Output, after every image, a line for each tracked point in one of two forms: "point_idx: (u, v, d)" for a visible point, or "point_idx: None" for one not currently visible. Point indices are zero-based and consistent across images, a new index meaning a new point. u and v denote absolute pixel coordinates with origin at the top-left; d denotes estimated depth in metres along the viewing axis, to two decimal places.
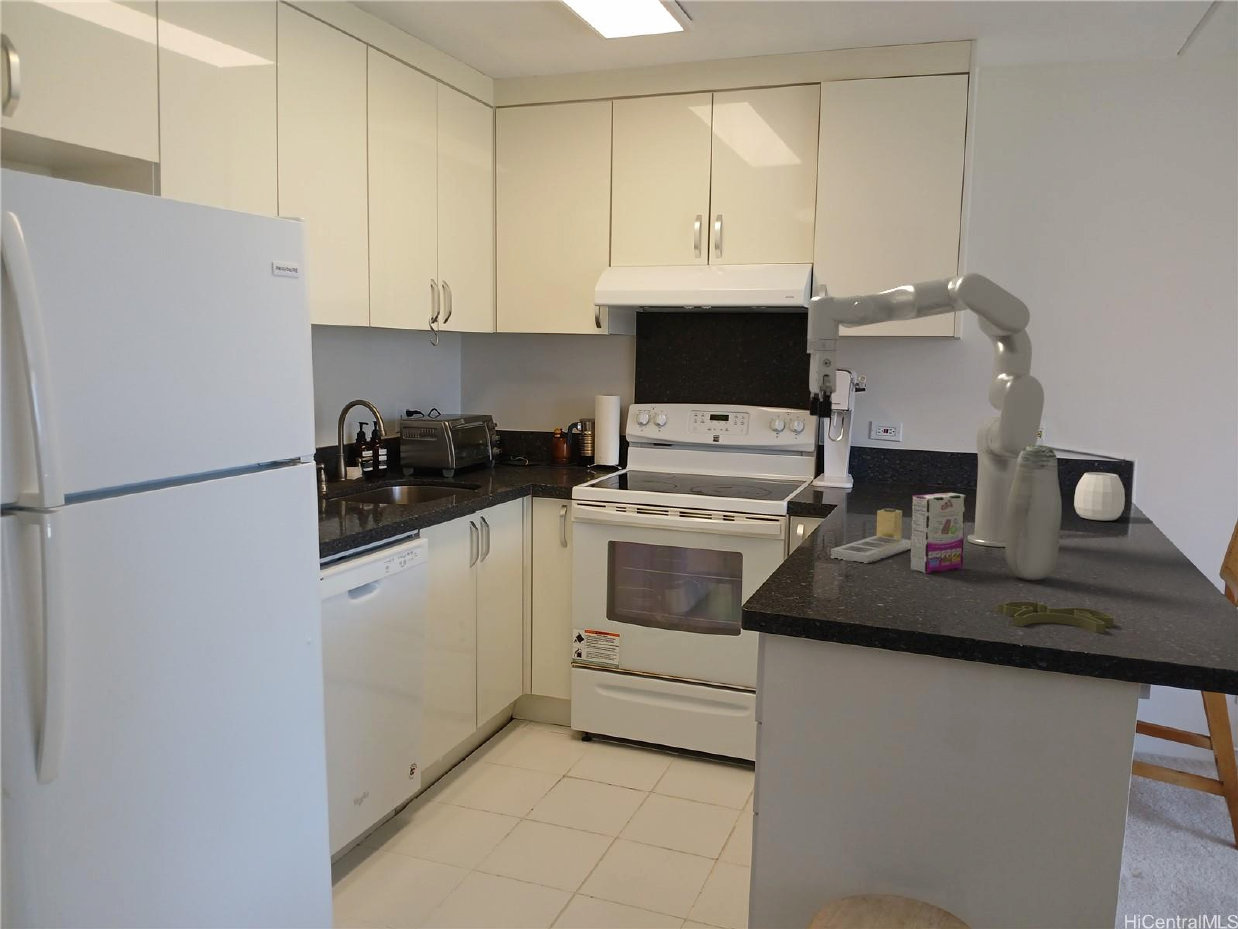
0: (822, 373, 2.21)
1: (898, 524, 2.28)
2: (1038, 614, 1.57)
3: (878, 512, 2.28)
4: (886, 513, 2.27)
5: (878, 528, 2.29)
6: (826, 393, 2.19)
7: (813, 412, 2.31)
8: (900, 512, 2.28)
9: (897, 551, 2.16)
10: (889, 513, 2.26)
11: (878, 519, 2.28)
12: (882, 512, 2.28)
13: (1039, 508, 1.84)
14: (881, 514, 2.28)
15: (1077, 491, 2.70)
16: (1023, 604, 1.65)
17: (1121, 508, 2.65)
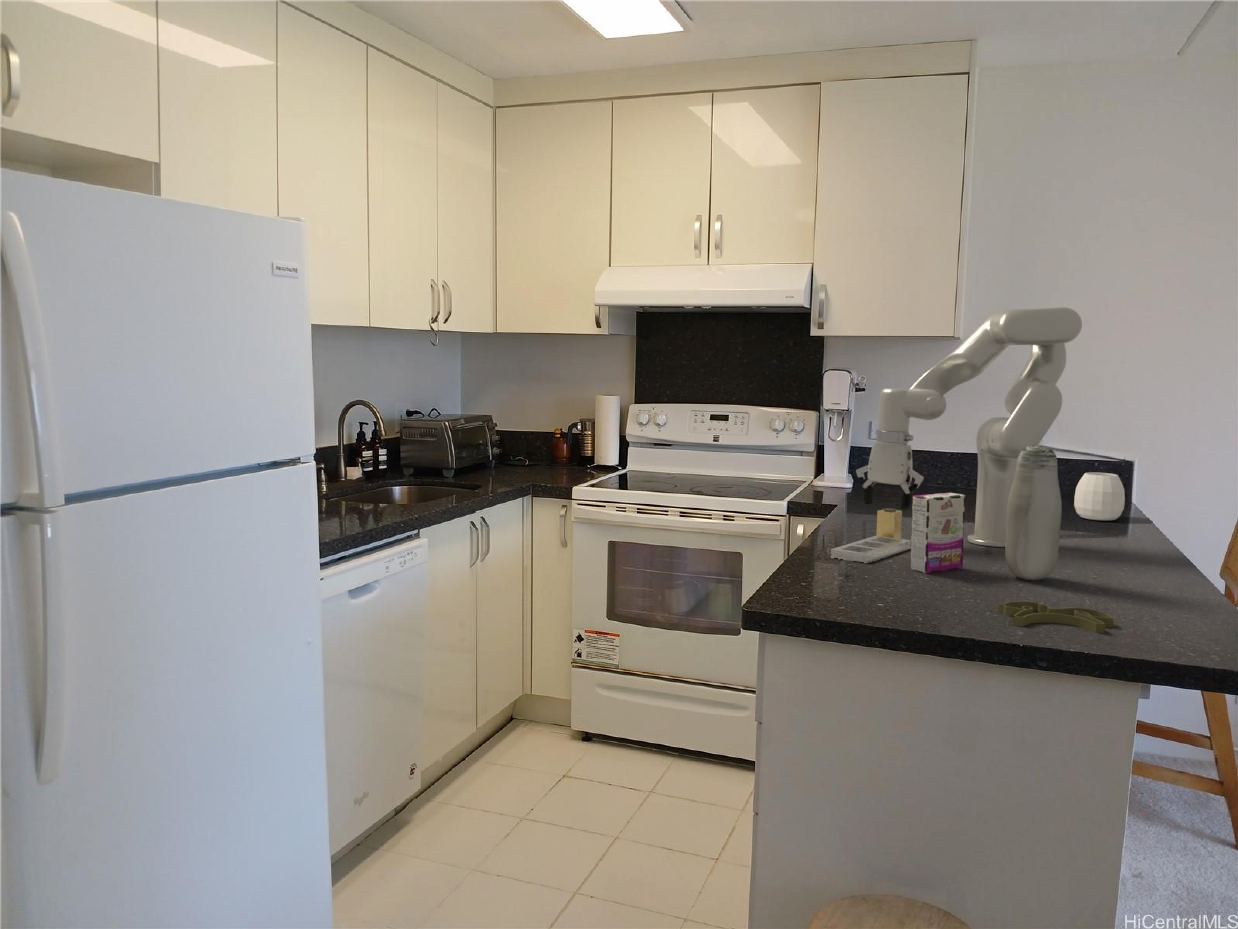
0: (907, 466, 2.24)
1: (898, 524, 2.28)
2: (1038, 614, 1.57)
3: (878, 512, 2.28)
4: (886, 513, 2.27)
5: (878, 528, 2.29)
6: (917, 486, 2.23)
7: (868, 501, 2.31)
8: (900, 512, 2.28)
9: (897, 551, 2.16)
10: (889, 513, 2.26)
11: (878, 519, 2.28)
12: (882, 512, 2.28)
13: (1039, 508, 1.84)
14: (881, 514, 2.28)
15: (1077, 491, 2.70)
16: (1023, 604, 1.65)
17: (1121, 508, 2.65)
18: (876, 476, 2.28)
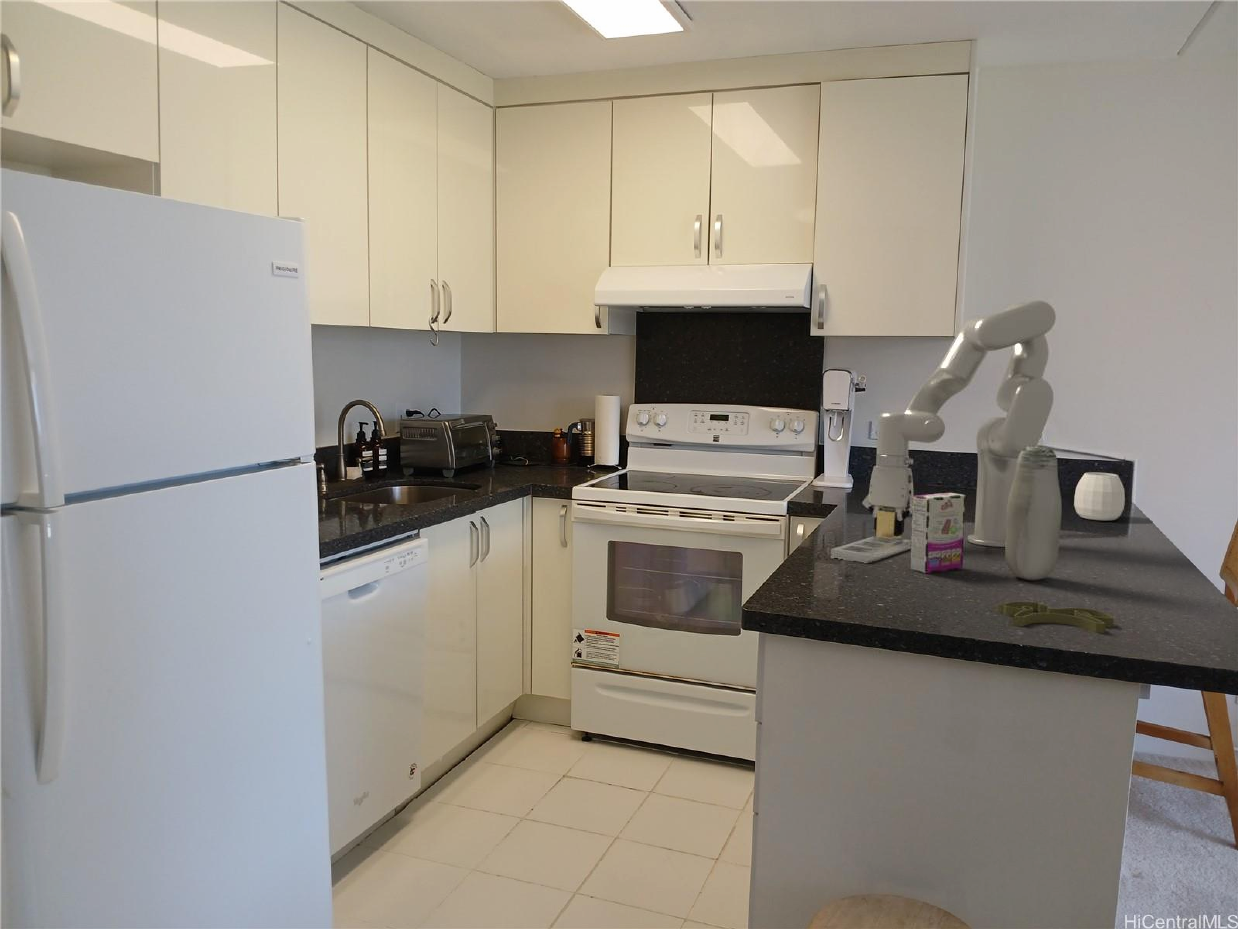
0: (908, 489, 2.24)
1: None
2: (1038, 614, 1.57)
3: (878, 512, 2.28)
4: (886, 513, 2.27)
5: (878, 528, 2.29)
6: (909, 513, 2.25)
7: None
8: None
9: (897, 551, 2.16)
10: (889, 513, 2.26)
11: (878, 519, 2.28)
12: (882, 512, 2.28)
13: (1039, 508, 1.84)
14: (881, 514, 2.28)
15: (1077, 491, 2.70)
16: (1023, 604, 1.65)
17: (1121, 508, 2.65)
18: (877, 500, 2.28)
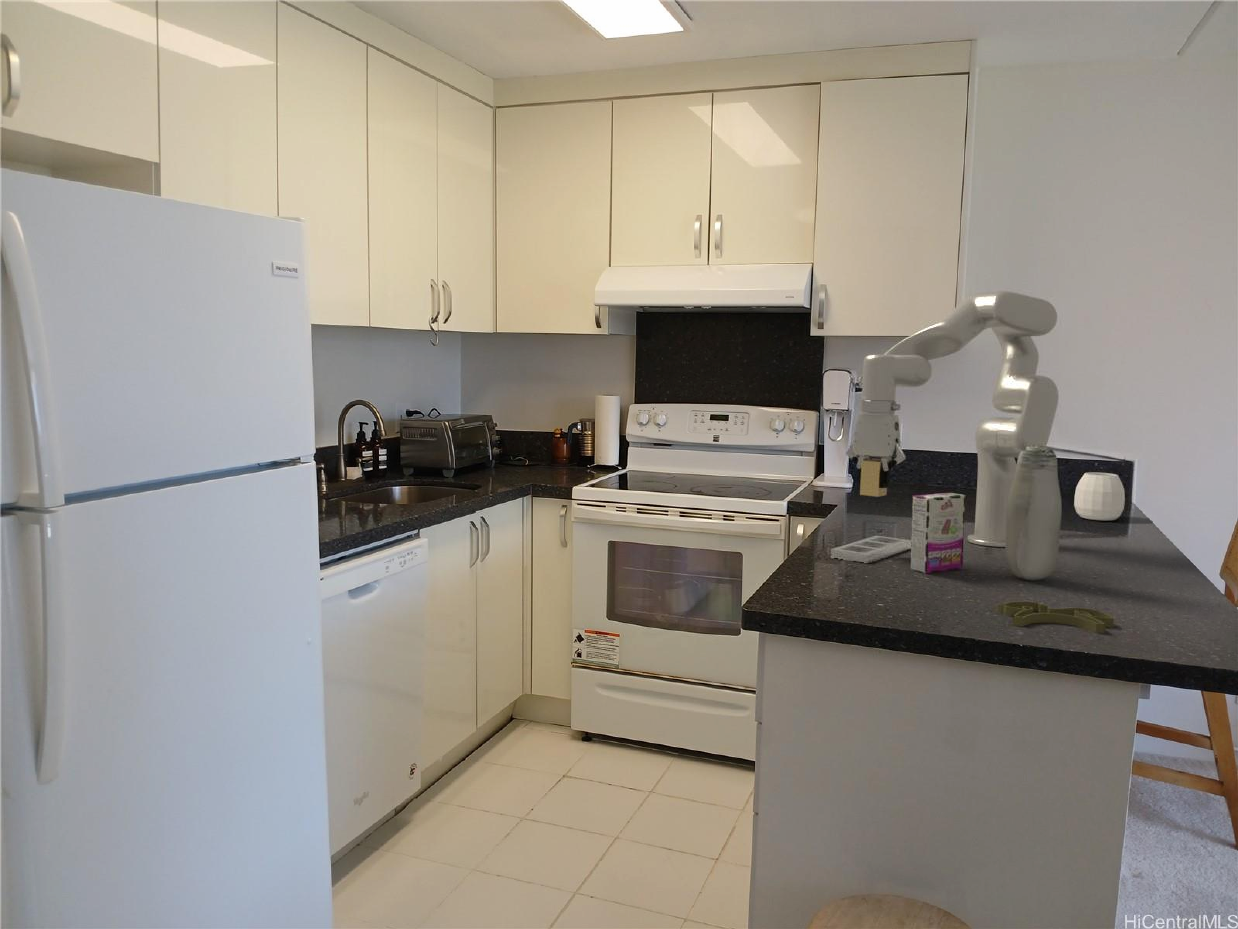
0: (895, 437, 2.09)
1: None
2: (1038, 614, 1.57)
3: (862, 462, 2.13)
4: (871, 463, 2.11)
5: (862, 479, 2.13)
6: (896, 463, 2.09)
7: None
8: None
9: (897, 551, 2.16)
10: (874, 463, 2.11)
11: (862, 469, 2.13)
12: (867, 462, 2.12)
13: (1039, 508, 1.84)
14: (866, 464, 2.12)
15: (1077, 491, 2.70)
16: (1023, 604, 1.65)
17: (1121, 508, 2.65)
18: (862, 449, 2.13)
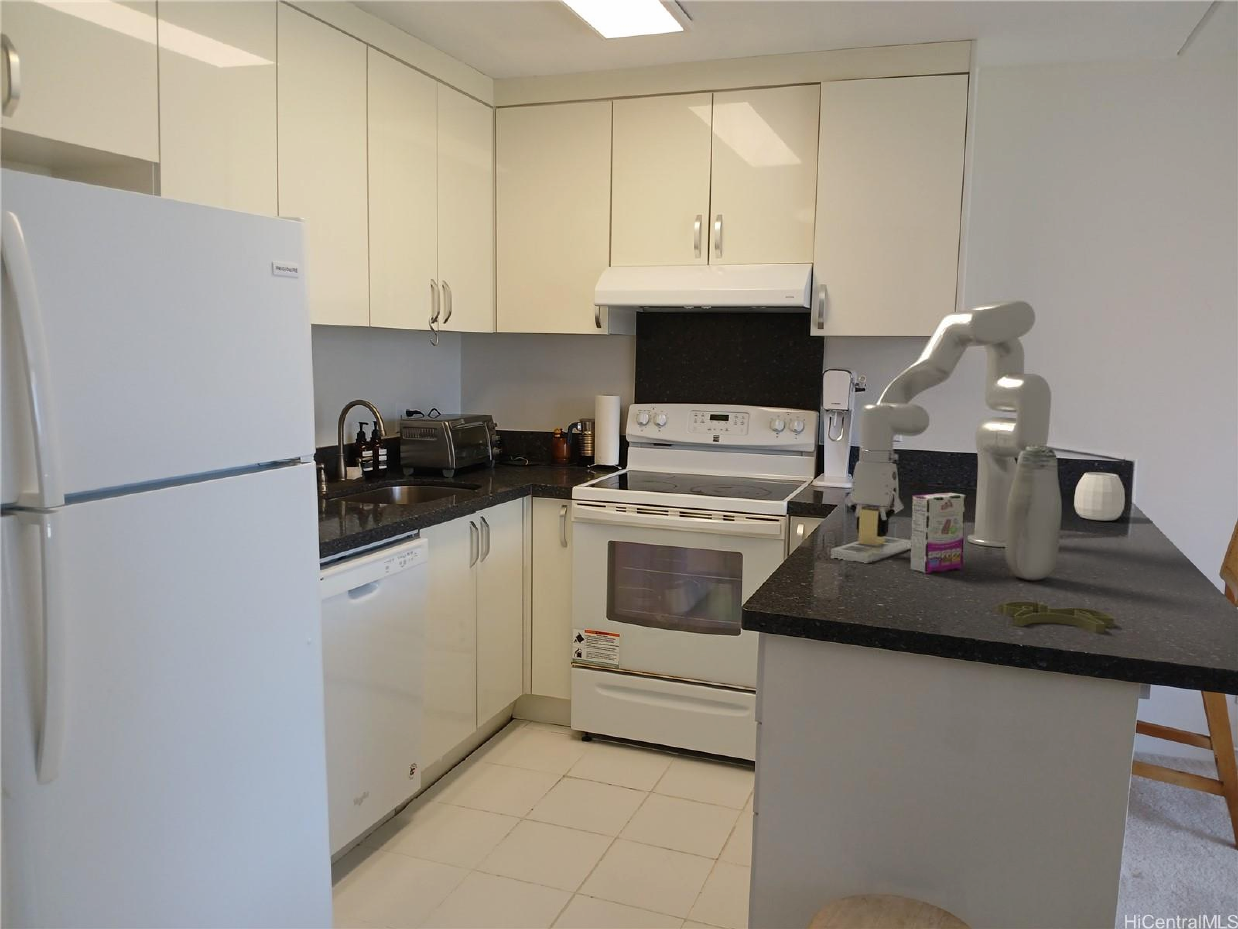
0: (893, 487, 2.10)
1: None
2: (1038, 614, 1.57)
3: (861, 511, 2.14)
4: (869, 512, 2.12)
5: (860, 528, 2.14)
6: (894, 512, 2.11)
7: None
8: None
9: (897, 551, 2.16)
10: (872, 512, 2.12)
11: (861, 518, 2.14)
12: (865, 511, 2.13)
13: (1039, 508, 1.84)
14: (864, 513, 2.13)
15: (1077, 491, 2.70)
16: (1023, 604, 1.65)
17: (1121, 508, 2.65)
18: (860, 498, 2.14)
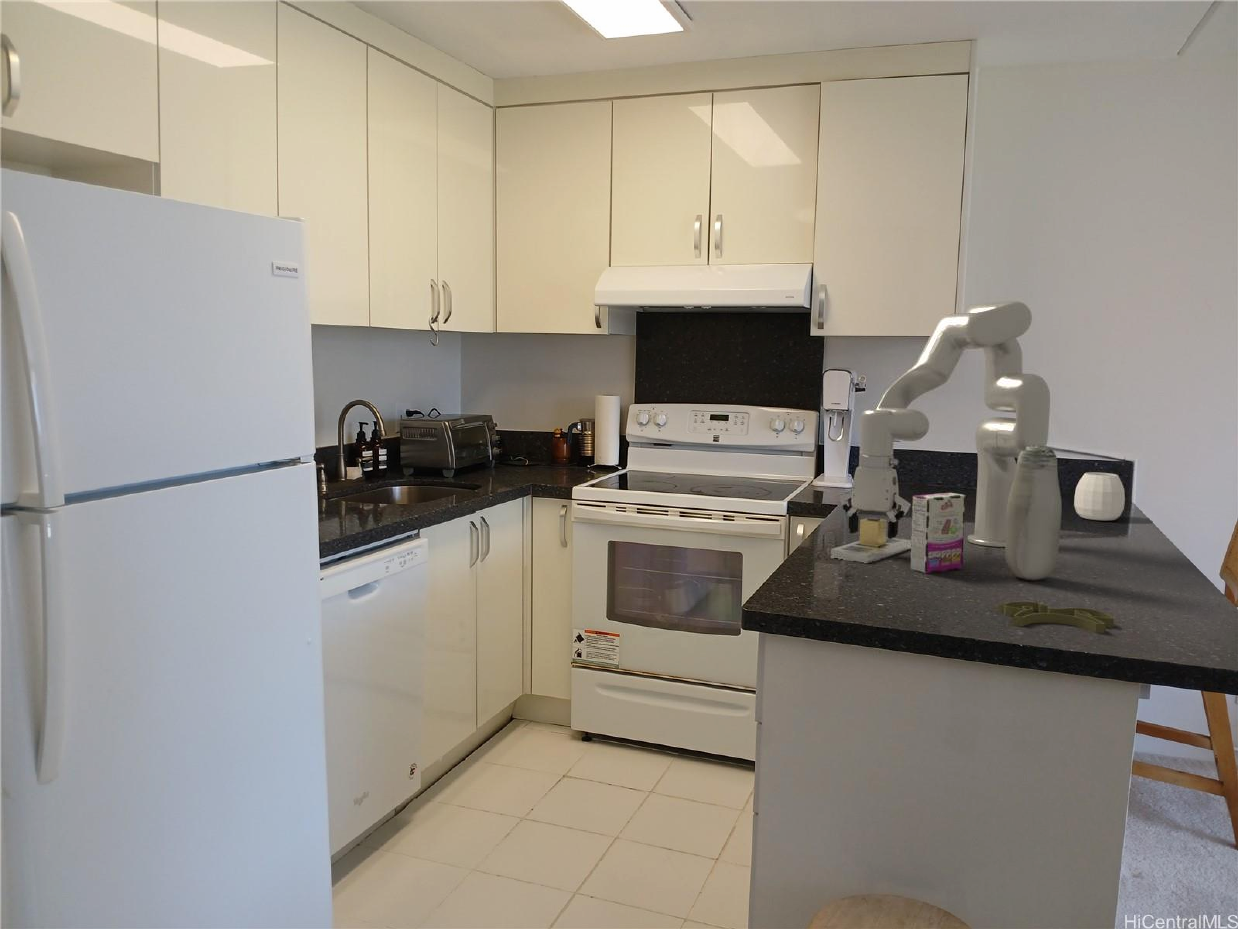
0: (893, 492, 2.10)
1: (882, 534, 2.14)
2: (1038, 614, 1.57)
3: (861, 521, 2.14)
4: (869, 522, 2.13)
5: (861, 538, 2.15)
6: (904, 514, 2.09)
7: (854, 529, 2.17)
8: (885, 521, 2.14)
9: (897, 551, 2.16)
10: (873, 522, 2.12)
11: (861, 528, 2.14)
12: (865, 521, 2.14)
13: (1039, 508, 1.84)
14: (864, 523, 2.14)
15: (1077, 491, 2.70)
16: (1024, 604, 1.65)
17: (1121, 508, 2.65)
18: (860, 503, 2.14)
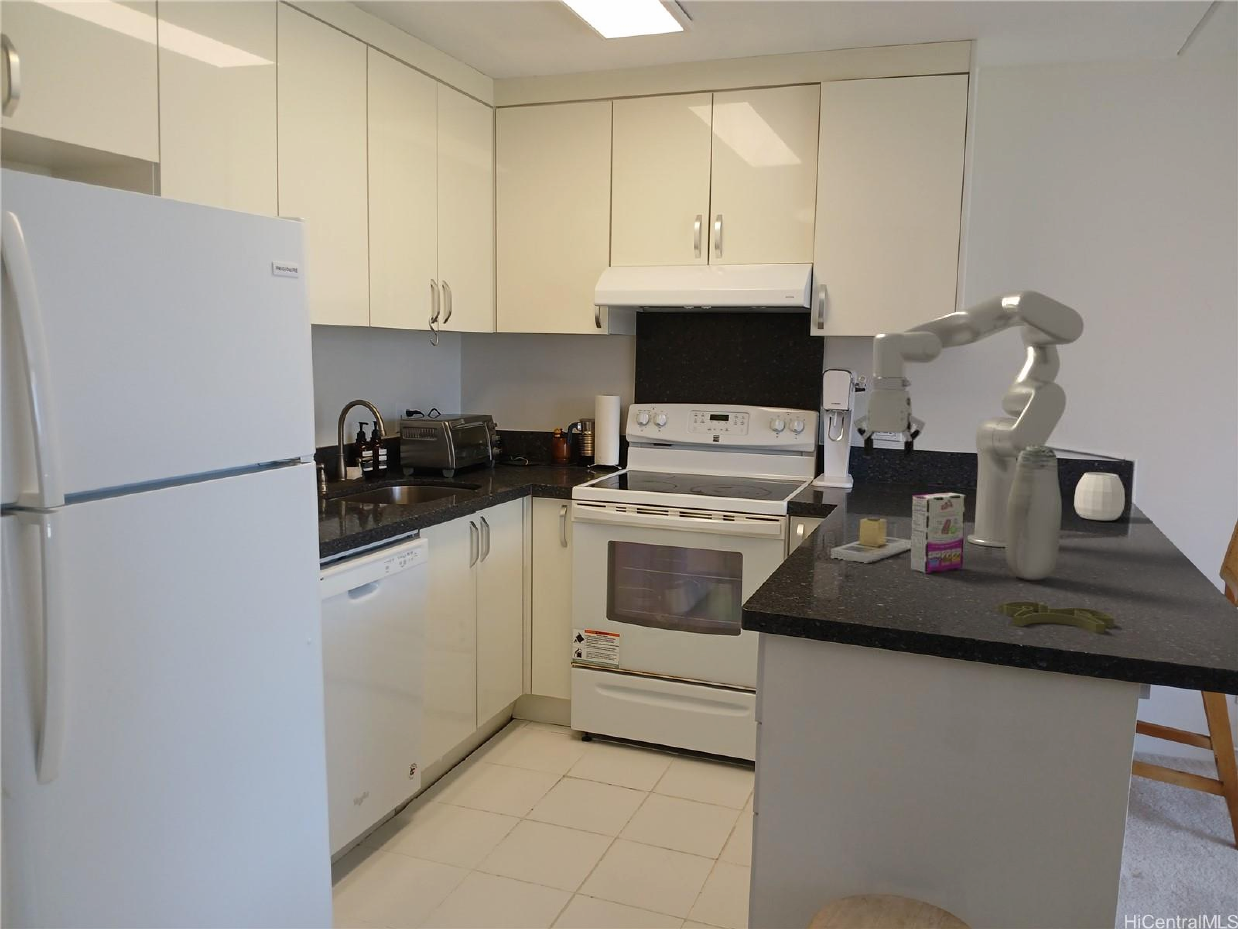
0: (907, 412, 2.15)
1: (882, 534, 2.14)
2: (1038, 614, 1.57)
3: (861, 521, 2.14)
4: (869, 522, 2.13)
5: (861, 538, 2.15)
6: (919, 432, 2.15)
7: (869, 452, 2.23)
8: (884, 521, 2.14)
9: (897, 551, 2.16)
10: (873, 522, 2.12)
11: (861, 528, 2.14)
12: (865, 521, 2.14)
13: (1039, 508, 1.84)
14: (864, 523, 2.14)
15: (1077, 491, 2.70)
16: (1024, 604, 1.65)
17: (1121, 508, 2.65)
18: (875, 426, 2.19)
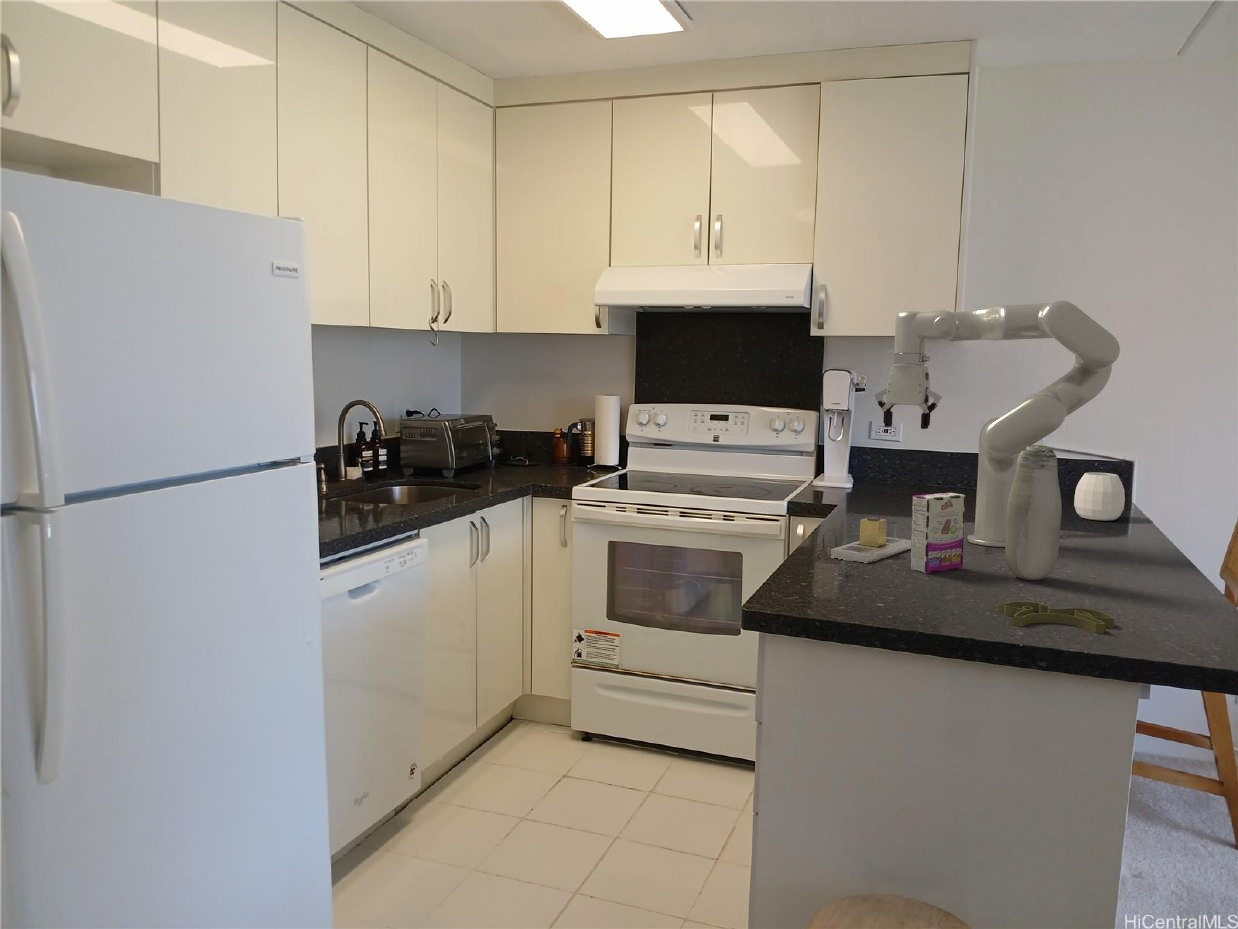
0: (925, 386, 2.30)
1: (882, 534, 2.14)
2: (1038, 614, 1.57)
3: (861, 521, 2.14)
4: (869, 522, 2.13)
5: (861, 538, 2.15)
6: (936, 405, 2.29)
7: (888, 423, 2.37)
8: (884, 521, 2.14)
9: (897, 551, 2.16)
10: (873, 522, 2.12)
11: (861, 528, 2.14)
12: (865, 521, 2.14)
13: (1039, 508, 1.84)
14: (864, 523, 2.14)
15: (1077, 491, 2.70)
16: (1024, 604, 1.65)
17: (1121, 508, 2.65)
18: (895, 398, 2.34)
